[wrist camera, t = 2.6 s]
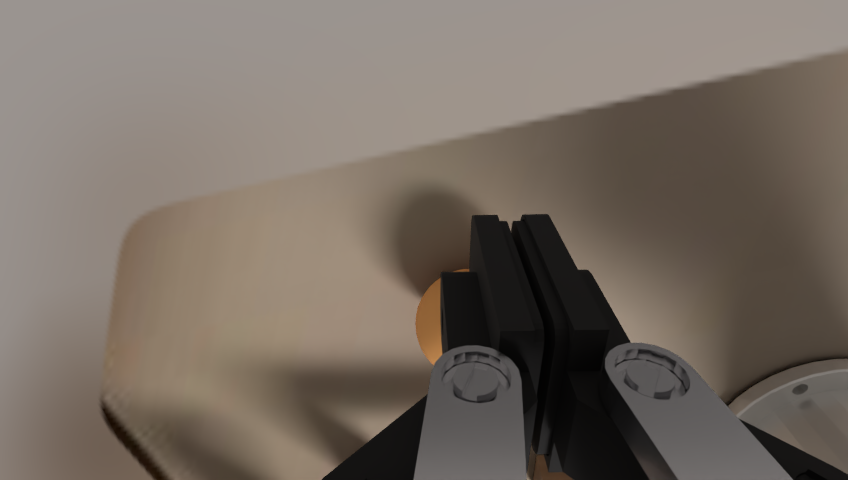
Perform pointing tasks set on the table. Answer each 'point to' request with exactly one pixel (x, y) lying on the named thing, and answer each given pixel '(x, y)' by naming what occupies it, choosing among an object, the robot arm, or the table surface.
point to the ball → (430, 322)
